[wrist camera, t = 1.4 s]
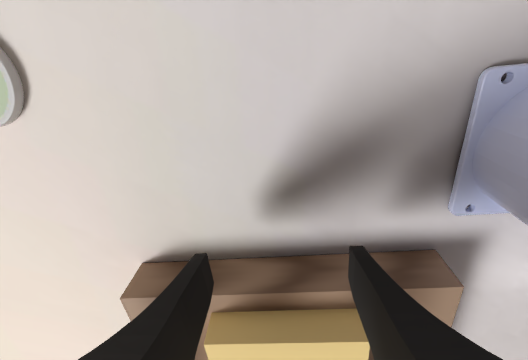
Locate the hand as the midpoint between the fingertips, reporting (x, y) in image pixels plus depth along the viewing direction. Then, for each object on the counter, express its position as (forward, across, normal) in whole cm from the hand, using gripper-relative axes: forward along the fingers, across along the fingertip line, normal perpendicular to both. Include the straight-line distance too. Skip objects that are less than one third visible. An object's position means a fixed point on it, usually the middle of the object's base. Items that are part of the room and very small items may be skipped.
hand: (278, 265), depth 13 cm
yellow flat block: (+1, 0, +8) cm, 8 cm away
